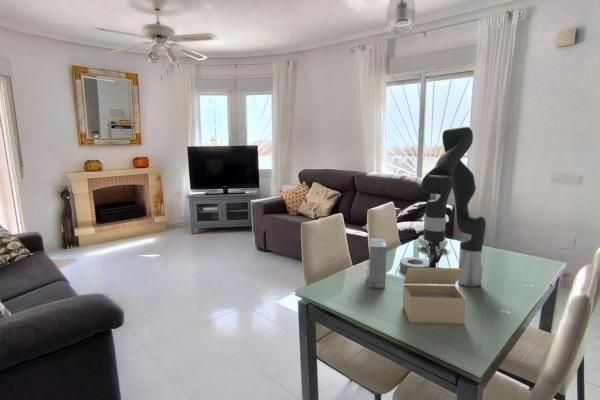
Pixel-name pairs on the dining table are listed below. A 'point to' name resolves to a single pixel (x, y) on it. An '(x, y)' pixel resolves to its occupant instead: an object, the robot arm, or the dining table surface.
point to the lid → (432, 275)
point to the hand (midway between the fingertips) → (432, 271)
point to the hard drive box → (377, 263)
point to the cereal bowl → (423, 242)
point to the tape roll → (413, 263)
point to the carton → (434, 304)
